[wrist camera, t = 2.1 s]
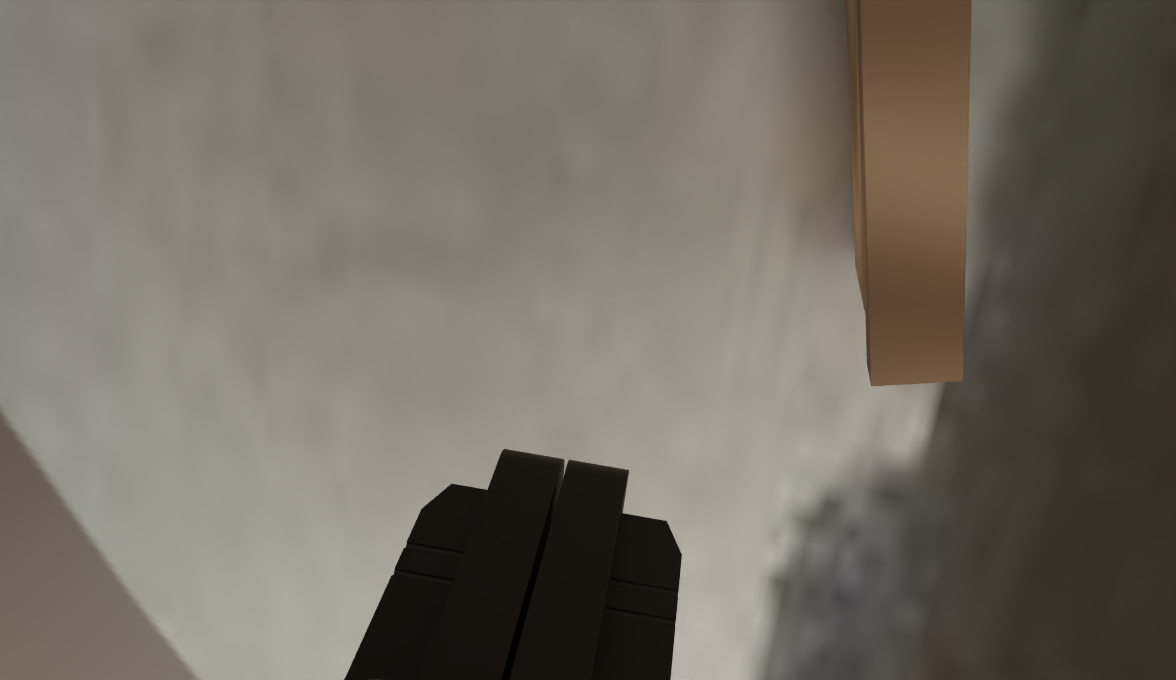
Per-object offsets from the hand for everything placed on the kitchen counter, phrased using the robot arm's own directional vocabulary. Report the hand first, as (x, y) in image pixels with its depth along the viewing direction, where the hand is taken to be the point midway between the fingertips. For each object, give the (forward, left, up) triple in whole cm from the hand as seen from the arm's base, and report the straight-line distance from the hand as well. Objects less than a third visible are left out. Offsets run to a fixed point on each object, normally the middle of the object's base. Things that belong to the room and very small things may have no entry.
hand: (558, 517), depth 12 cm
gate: (-4, -5, -18) cm, 19 cm away
